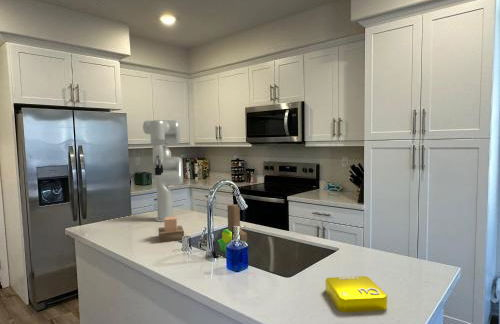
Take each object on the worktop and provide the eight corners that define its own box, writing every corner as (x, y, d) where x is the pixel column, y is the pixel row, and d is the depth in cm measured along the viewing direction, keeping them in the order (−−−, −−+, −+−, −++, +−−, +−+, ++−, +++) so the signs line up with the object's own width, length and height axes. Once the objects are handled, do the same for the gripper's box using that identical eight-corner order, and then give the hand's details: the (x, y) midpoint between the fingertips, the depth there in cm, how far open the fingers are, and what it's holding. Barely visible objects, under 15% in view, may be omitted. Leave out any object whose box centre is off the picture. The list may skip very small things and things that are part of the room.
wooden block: (247, 241, 158) (246, 205, 157) (241, 244, 155) (240, 207, 153) (234, 238, 164) (233, 203, 163) (227, 240, 160) (227, 205, 159)
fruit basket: (246, 252, 143) (246, 227, 142) (232, 258, 136) (231, 232, 136) (229, 247, 151) (228, 223, 150) (215, 252, 144) (214, 227, 143)
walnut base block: (158, 237, 170) (158, 227, 170) (181, 234, 174) (181, 225, 174) (159, 243, 159) (159, 233, 158) (184, 241, 162) (183, 231, 162)
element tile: (367, 287, 108) (367, 274, 107) (389, 311, 93) (390, 295, 92) (323, 289, 107) (323, 275, 106) (339, 314, 92) (339, 297, 91)
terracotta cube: (165, 228, 168) (165, 217, 168) (177, 227, 169) (176, 216, 169) (164, 231, 163) (164, 219, 162) (176, 230, 164) (176, 219, 163)
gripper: (152, 142, 183) (154, 172, 184) (148, 143, 166) (150, 176, 168) (166, 142, 184) (167, 171, 186) (163, 143, 167) (164, 175, 169)
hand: (159, 173), depth 177 cm, fingers open, 9 cm apart
